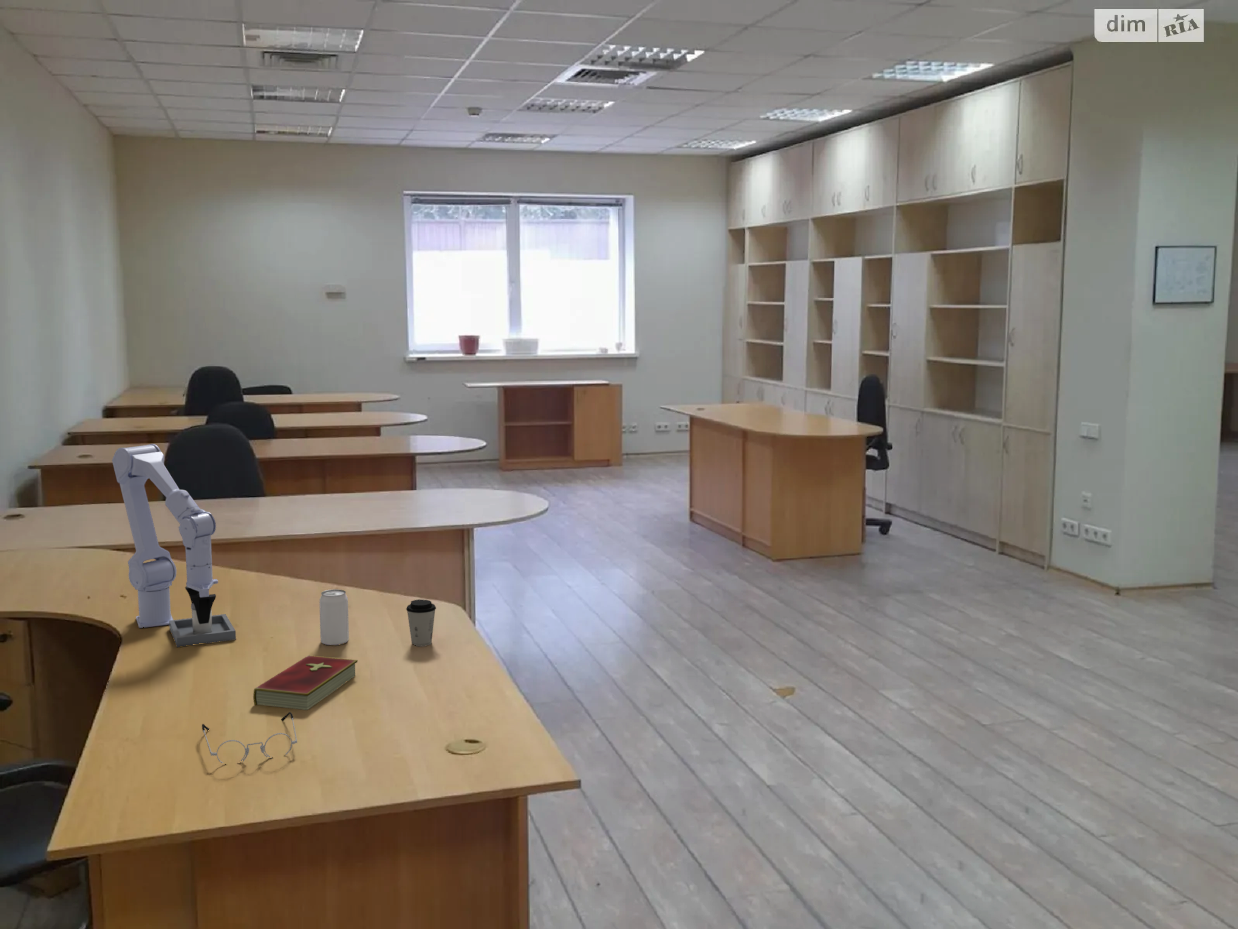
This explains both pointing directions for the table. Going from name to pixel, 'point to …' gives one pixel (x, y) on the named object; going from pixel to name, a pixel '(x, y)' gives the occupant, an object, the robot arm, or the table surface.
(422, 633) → the coffee cup
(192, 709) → the table surface
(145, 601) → the robot arm
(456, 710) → the table surface
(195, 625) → the shaker
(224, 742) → the eyeglasses
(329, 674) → the hardcover book
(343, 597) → the can
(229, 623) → the tray
